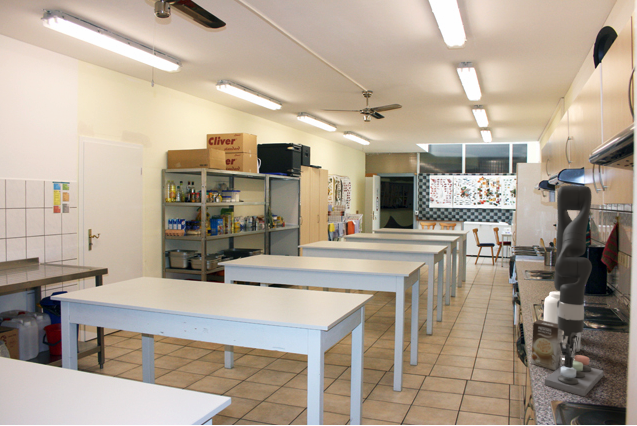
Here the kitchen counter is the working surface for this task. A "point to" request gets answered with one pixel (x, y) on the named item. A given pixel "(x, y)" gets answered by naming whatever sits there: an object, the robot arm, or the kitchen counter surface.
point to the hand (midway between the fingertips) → (568, 366)
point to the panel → (575, 380)
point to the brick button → (582, 359)
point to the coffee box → (546, 344)
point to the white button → (568, 372)
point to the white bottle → (551, 306)
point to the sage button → (577, 366)
